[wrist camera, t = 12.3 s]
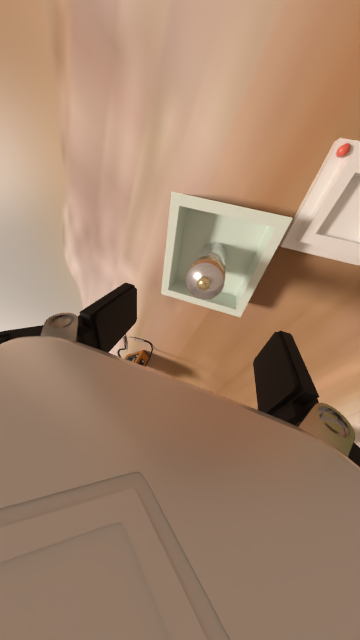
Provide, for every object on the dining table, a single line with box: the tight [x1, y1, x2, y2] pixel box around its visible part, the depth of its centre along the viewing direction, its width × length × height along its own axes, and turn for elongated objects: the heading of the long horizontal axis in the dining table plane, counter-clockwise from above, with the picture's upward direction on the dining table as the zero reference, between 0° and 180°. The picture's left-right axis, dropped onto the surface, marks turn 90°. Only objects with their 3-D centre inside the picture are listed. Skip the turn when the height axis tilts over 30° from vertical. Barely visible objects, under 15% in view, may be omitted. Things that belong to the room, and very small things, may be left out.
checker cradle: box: [279, 138, 360, 265], centre depth 16 cm, size 9×9×2 cm
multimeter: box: [118, 336, 153, 367], centre depth 34 cm, size 15×10×20 cm
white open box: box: [161, 192, 293, 317], centre depth 21 cm, size 12×12×5 cm
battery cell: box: [185, 242, 227, 299], centre depth 18 cm, size 4×4×10 cm
